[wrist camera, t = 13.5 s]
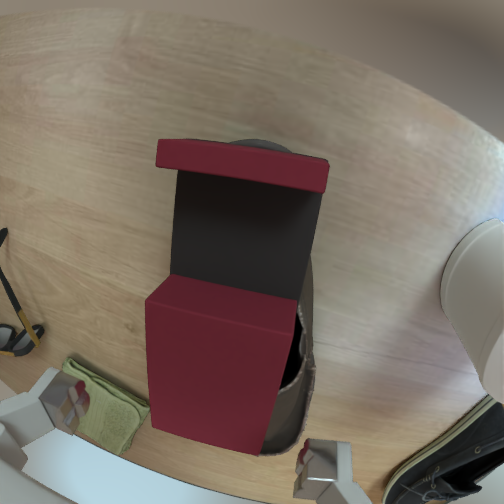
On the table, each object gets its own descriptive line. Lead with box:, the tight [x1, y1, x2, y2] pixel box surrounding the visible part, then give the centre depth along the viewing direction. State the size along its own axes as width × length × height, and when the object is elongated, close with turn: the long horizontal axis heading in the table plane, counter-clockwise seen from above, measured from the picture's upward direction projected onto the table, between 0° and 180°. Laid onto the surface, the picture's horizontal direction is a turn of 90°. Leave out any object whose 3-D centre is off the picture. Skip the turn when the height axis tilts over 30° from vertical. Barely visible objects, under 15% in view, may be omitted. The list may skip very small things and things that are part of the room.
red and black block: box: [145, 139, 330, 456], centre depth 14 cm, size 14×6×4 cm, turn 172°
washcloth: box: [62, 357, 150, 455], centre depth 38 cm, size 13×18×3 cm
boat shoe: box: [382, 395, 504, 504], centre depth 30 cm, size 11×29×9 cm, turn 160°
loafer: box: [230, 139, 316, 457], centre depth 23 cm, size 11×30×11 cm, turn 6°
